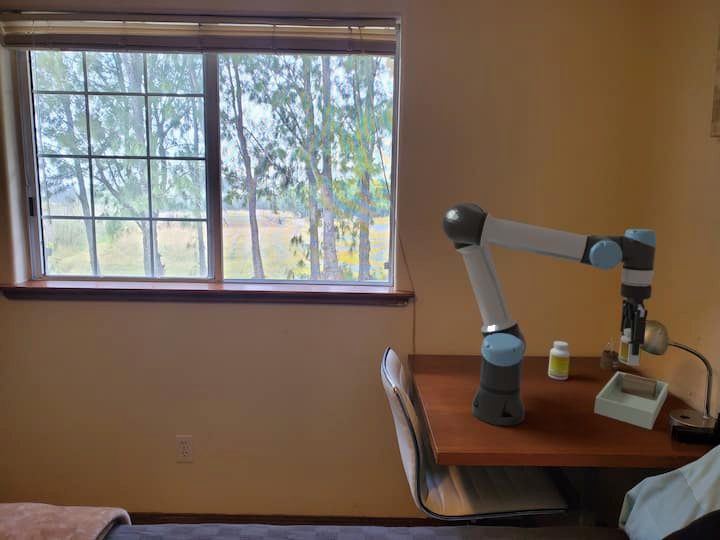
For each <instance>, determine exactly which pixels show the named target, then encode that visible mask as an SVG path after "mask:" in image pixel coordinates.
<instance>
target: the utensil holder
mask: <svg viewBox="0 0 720 540" xmlns="http://www.w3.org/2000/svg"><path fill="white" fill-rule="evenodd" d="M616 341H617V338H616V337H612V336H611V340H610V342H608V344H609V348H611V350H610V349H604V350H603V351H602V355H601V356H600V363H599V366H600V367H599V368H601V369H602V370H604V371H607V372H617V371H618V368H619V362H620V361H619V352H617V351H614V347H615V346H616ZM608 344H606V347H608Z"/></svg>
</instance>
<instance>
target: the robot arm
mask: <svg viewBox="0 0 720 540" xmlns="http://www.w3.org/2000/svg"><path fill="white" fill-rule="evenodd" d="M441 226H442V227H441V228H442V230H443V234H444V235H445V236H446V238H448V239H449V240H451V241H452V242H453V247H454V249H455V251H456V252H458V253H460V254H461V255H462V258H463V262H464V264H465V268H466V271H467V274H468V277H469V282H470V283H471V287H472V290H473V292H474V293H473V294H474V297H475V299H476V303H477V306H478V310H479V311H480V315H481V318H482V319H481V320H482V322H483V325H482V326H481V329H480V331H481V334H482V338H483V340H482V345H481V349H480V351H481V360H480V361H481V362H480V375H479V385H478V389H477V391H476V394H475V396H474V398H473V401H472V404H471V405H472V406H471V412H472V414H473V415H474V416H475V418H477V419H479V420H481V421H482V422H484V423H488V424H491V425H495V426H502V427H503V426H504V427H509V426H510V427H511V426H516V425H519V424H522V423H523V421H524V420H525V416H526V415H525V413H526V410H525V407H524V402H523V399H522V394H521V386H522V373H523V365H524V364H523V363H524V358H525V353H526V351H527V350H526V349H527V342H526V341H527V340H526V339H525V336H524V334H523V333H522V331H521V329H520V326H519V324H518V320H517V319H515V318H513V317H512V316H511V314H510V310H509V309H508V308H509V306H508V303H507V301H506V298H505V295H504V291H503V289H502V286H501V285H502V284H501V282H500V278H499V275H498V272H497V269H496V265H495V263H494V260H493V257H492V253H491V251H490V250H491V249H490V247H489V245H493V246H497V247H503V248H507V249H511V250H517V251H521V252H526V253H531V254H536V255H540V256H545V257H551V258H555V259H559V260H564V261H569V262H575V263H579V264H582V265H587V266H592V267H594V268H596V269H599V270H603V271H607V270H608V271H610V270H612V269H615V268H616V267H617V266H619V265H620V264H621V263H622V271H621V279H620V280H621V282H622V283H621V284H620V297H623V298H626V299H622V309H621V311H622V312H621V321H620V329H619V331H620V332H621V336H625V335H624V329H628V328H630V329H631V342H628V344H629V350H628V362H627V364H626V365H627V366H636V367H639V365H640V364H639V356H640V346H641V344H642V345H644V344H645V338H646V325H647V317H648V313H649V311H648V310H647V309H645V304H644V300H649V299H651V297H652V289H653V286H652V285H651V284H653V277H654V276H655V275H656V273H655V272H654V267H655V266H654V265H655V257H656V249H657V233H656V231H655V230H653V229H647V228H645V229H643V228H629V229H626V231H625V234H624V235H618V236H617V235H615V236H614V235H595V234H589V235H583V234H580V233H579V234H578V233H574V232H569V231H564V230H559V229H553V228H548V227H545V226H543V227H542V226H537V225H532V224H527V223H522V222H518V221H517V222H516V221H512V220H507V219H503V218H495V217H493V216H492V214H491V213H488V212H485V211H484V209H482V208H481V207H480V206H479V205H477V204H475V203H470V202H465V203H461V204H456V205H453V206H451V207H450V208H449V209H447V210H446V211H445V212H444V215H443V216H442V220H441ZM641 347H642V346H641Z"/></svg>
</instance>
